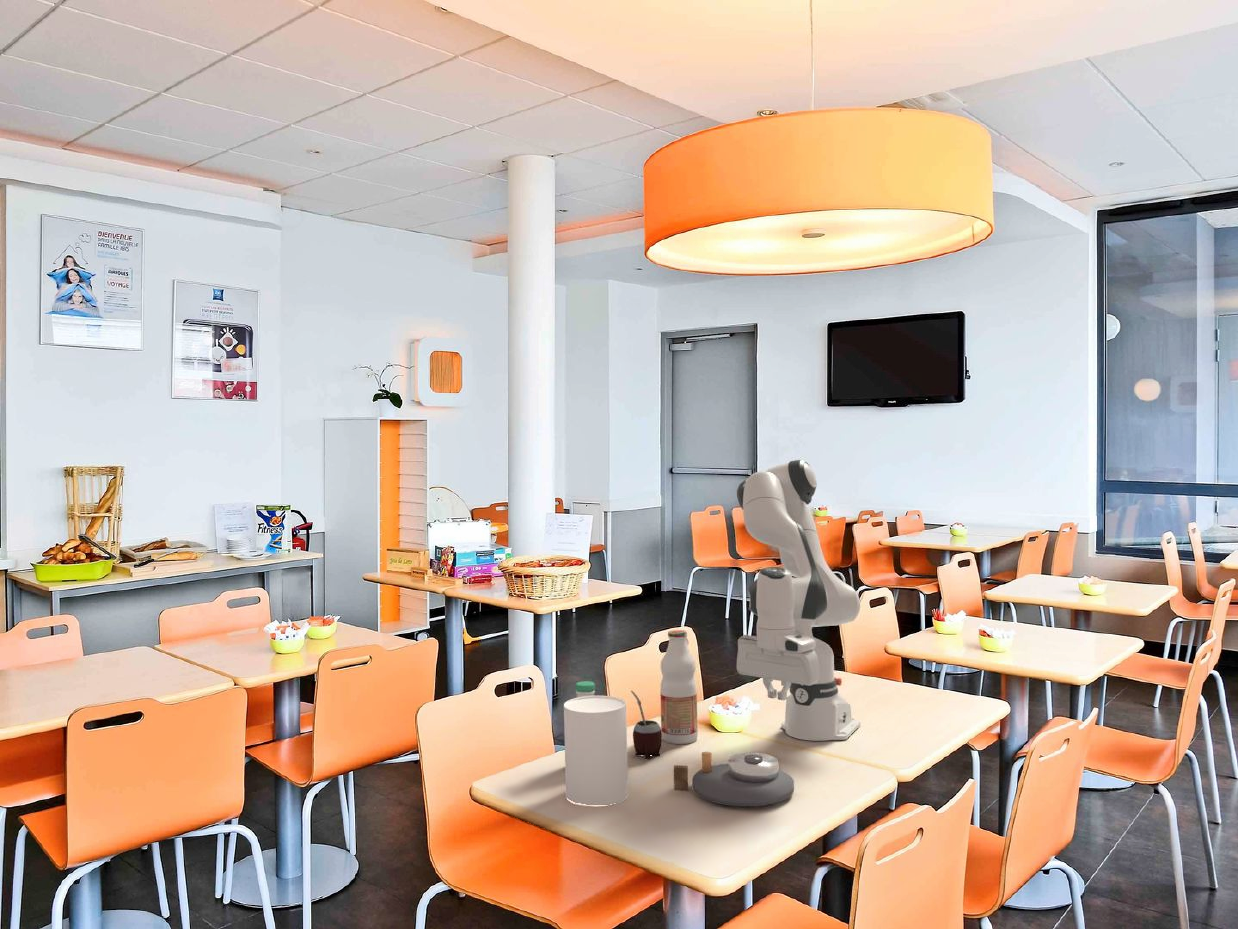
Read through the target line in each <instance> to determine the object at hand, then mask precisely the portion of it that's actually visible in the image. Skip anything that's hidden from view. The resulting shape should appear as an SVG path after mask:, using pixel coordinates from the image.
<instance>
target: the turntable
mask: <svg viewBox="0 0 1238 929" xmlns="http://www.w3.org/2000/svg"><path fill="white" fill-rule="evenodd" d="M712 762H713V761H712V752H710V751H703V752H701V769H700V770H699V771H698V770H697V772H695V773H694V775H693V776H692V778H691V783H692V784H691V785H692V786H691V787H692V790H693V792H694V793H695V794H696V795H697V796H699V797H700V798H702V799H704V800H707V801H709V802H712V803H716V804H720V805H725V806H735V807H758V806H759V807H760V806H761V807H762V806H767V805H772V804H776V803H777V804H778V803H780V802H783V801H785V800H787V799H788V798H790V797H791V796H793V794H794V792H795V780H794V778H793V777H792V776H791V774H788V773H787V772H785V771H784V770H781V769H779V777H778V778H777V779H776V780H774V781H771V782H766V783H746V782H741V781H737V780H735V779H733V778H731V777H730V776H729V763H721V764H715V765H713V763H712Z"/></svg>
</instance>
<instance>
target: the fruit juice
mask: <svg viewBox="0 0 1238 929" xmlns="http://www.w3.org/2000/svg"><path fill="white" fill-rule="evenodd" d="M667 636H668V639H669V640H668V645H667V648H666V651H665V654H664V655H663V657H662V659H661V660H660V661H661V662H660V672H661V675H662V678H661V680H660V690H659V691H660V727H661V732H662V741H664V742H665V743H668V744H672V745H685V744H686V745H687V744H691V743H692V744H693V743H694V742H695V741H696V742H697V739H698V733H699V732H698V731H699V729H698V690H697V689H698V688H697V682H696V679H695V672H696V667H697V664H696V660H695V659H694V657H693V655H692V654H691V651H690V649H689V646H688V643H687V638H688V633H687V630H685V629H672V630H669V631H668V632H667Z"/></svg>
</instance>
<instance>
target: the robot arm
mask: <svg viewBox="0 0 1238 929" xmlns="http://www.w3.org/2000/svg"><path fill="white" fill-rule="evenodd" d="M816 478H817V477H816V474H815V472H814V470H813V468H812V467H811V466H810V464H809V463H808V462H807V461H805V460H803V459H795V460H791V461H789V462H788V463H787V462H786V463H784V464H779V465H775V466H773V467H771V468H768V469H767V470H763V471H762V470H761V471H757V472H754V473H752V474H751V475H750V476H748V477H747V478H746V479H744V480H743V481H742V482H740V483H739V484H738V487H737V489H736V497H737V501H738V504H739V506H740V508H741V509H742V514H743V522H744V526H745V529H746V531H747V533H748V534H749V535H750V536H751V537H752V539H754V540H756V541H757V542H759V543H762V544H764V545H767V546H772V547H775V548H778V552H779V558H780V562H781V566H782V567H781V566H769V567H764V568H762V569H760V570H759V571H758V573H757V578H756V579H755V580H754V581H753V582H752V583H751V584H750V585H749V586H748V588H747V589H748V591H749V593H748V594H749V605H748V610H749V611H750V612H751V613H753V615H755V616H757V622H756V635H749V634H743V635H742V636H740V637H739V638H738V639H737V656H736V670H737V672H738V674H739V675H743V676H749V677H756V678H761V679H762V684H763V685H764V687H765V689H766V691H767V698H769V699H776V698H777V700H780V701H785V714H784V715H785V716H784V722H783V721H782V722H781V725H780V728H781V729H784V730H785V734H787V735H788V736H790V737H792V738H795V739H798V740H799V739H800V740H803V741H804V740H805V741H812V742H813V741H814V742H815V741H817V742H819V741H824V742H825V741H834V740H835V741H845V740H847V738H848V737H849V736H852V735H853V734H852V733H853V732H854V731H855V730H856V729H857V728H858V729H859V728H860V727H861V725H860V724H861V721H860V720H857V719H856V718H853V717H852V709H851V708H852V706H851V704H850V703H849V701H847V699H845V698H844V697H843V696H842V695H841V694H840V693H839V688H838V686H840V687H841V685H842V683H843V679H842V677H835V664H834V663H835V661H834V660H835V659H834V658H835V656H834V652H833V649H832V648H831V647H830V644H827V643H826V642H824V641H822V640H821V639H819V638H816V637H814V636H813V635H814V634H813V630H812V629H813V628H814V627H830V626H840V625H845V624H848V623H851V622H854V621H855V620H856V619H857V617H858V615H859V613H860V609H861V599H860V597H859V594H858V593H857V591H856V590H855V588H853V586H851V585H849V584H847V583H846V582H844V581H843V580H841V579H840V578H839V577H838V576H837V575H836V574H835V573H834V572H833V570H832V569H831V568H830V566H829V565H828V563H827V561H826V559H825V556H824V553H823V551H822V550H823V549H822V546H821V542H820V539H819V534H818V529H817V526H816V525H817V524H816V523H815V520H814V517H813V514H812V512H811V510H810V508H809V505H810V503H811V502H812V498H813V496H814V494H815V492H816V489H817V480H816ZM773 681H778V682H779V681H780V683H781V684H780V685H781V686H782V688H781V690H780V691H778V690H777V689H776V688H775V689H774V686H773V684H772V682H773ZM788 690H789V693H790V695H788ZM856 731H857V730H856ZM856 731H855V732H856ZM855 732H854V733H855ZM851 734H852V735H851ZM849 738H850V737H849ZM849 738H848V739H849Z"/></svg>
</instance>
